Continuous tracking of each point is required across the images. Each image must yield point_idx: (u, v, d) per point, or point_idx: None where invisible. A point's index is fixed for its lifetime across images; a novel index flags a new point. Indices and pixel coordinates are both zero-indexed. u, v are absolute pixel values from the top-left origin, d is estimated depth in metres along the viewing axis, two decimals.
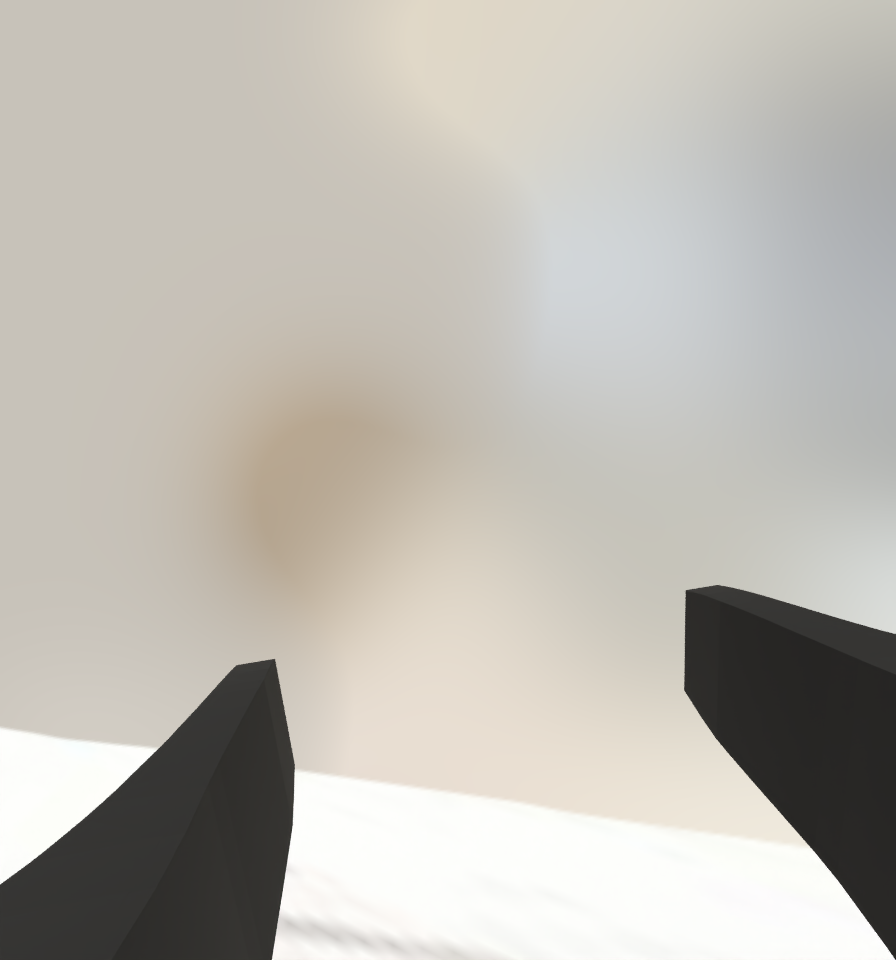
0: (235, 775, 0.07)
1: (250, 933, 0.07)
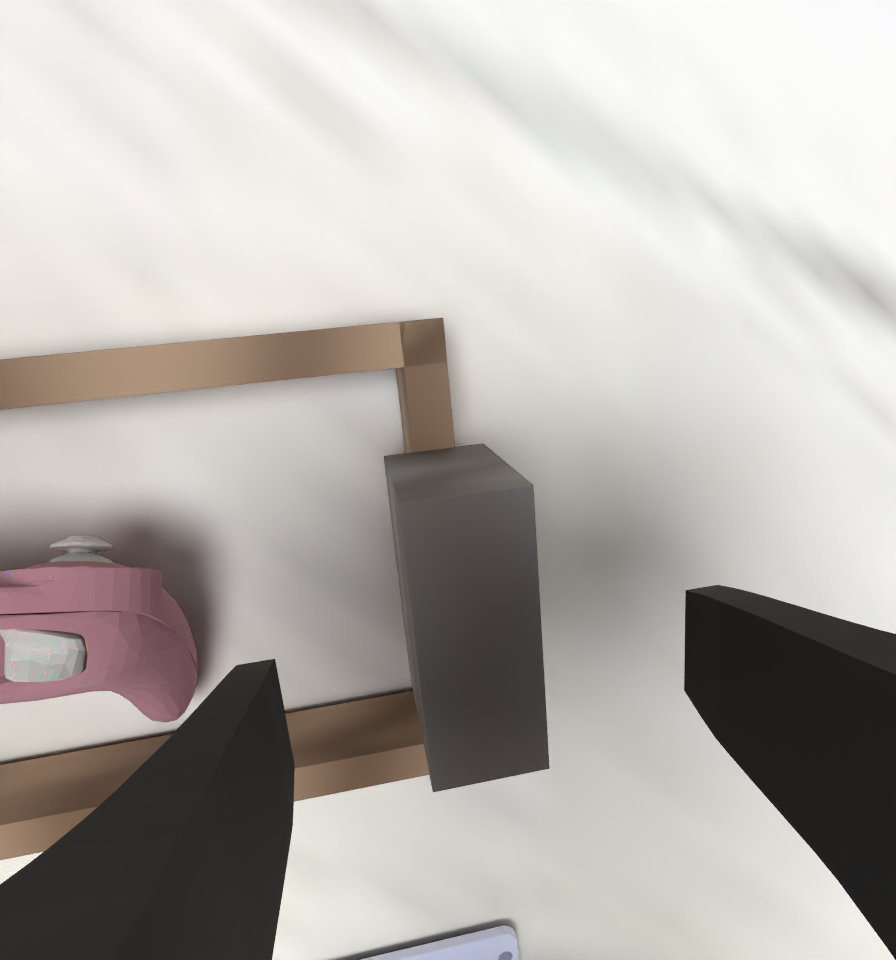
0: (234, 775, 0.07)
1: (250, 933, 0.07)
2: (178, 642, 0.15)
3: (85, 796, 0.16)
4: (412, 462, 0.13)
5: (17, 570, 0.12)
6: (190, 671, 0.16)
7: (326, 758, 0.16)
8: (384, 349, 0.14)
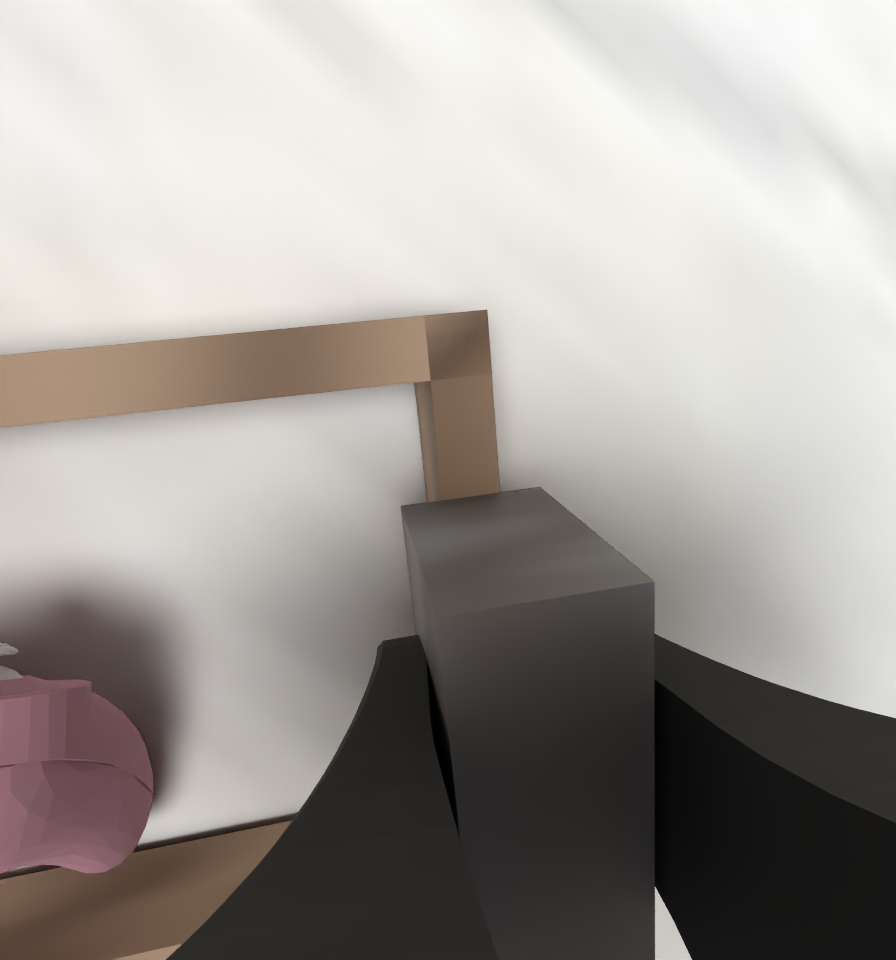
0: None
1: None
2: (115, 777, 0.11)
3: None
4: (444, 520, 0.09)
5: None
6: (138, 802, 0.12)
7: None
8: (403, 355, 0.09)
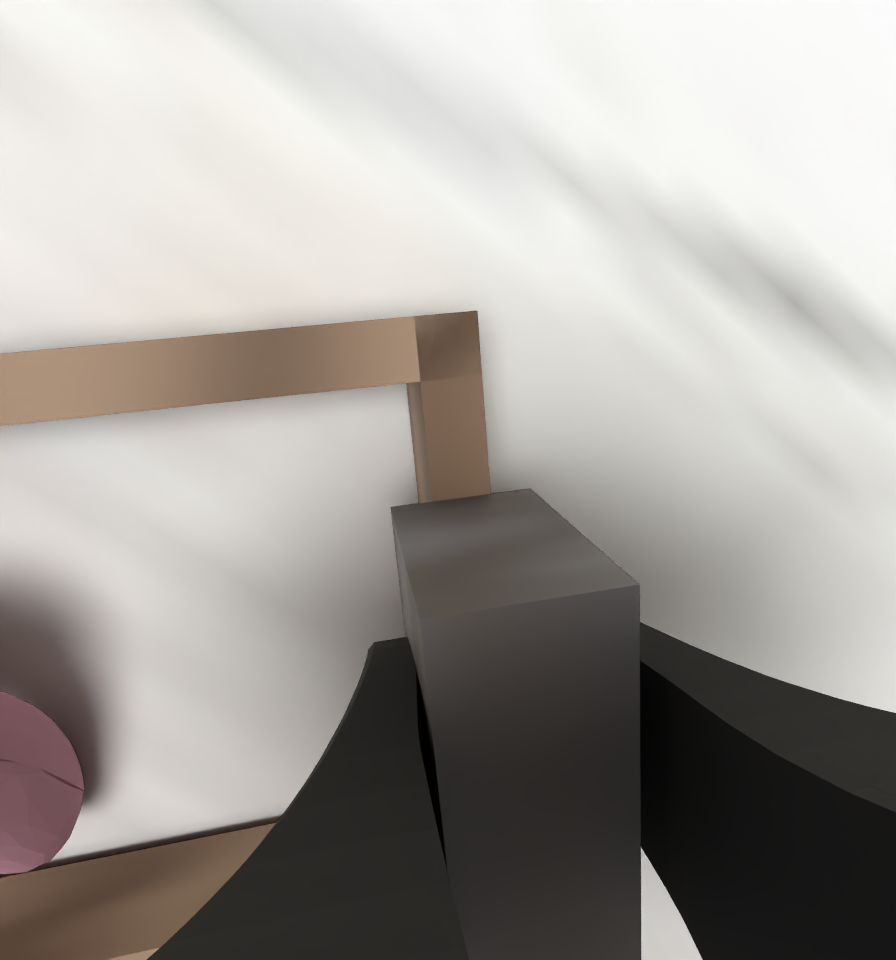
0: (420, 740, 0.07)
1: None
2: (15, 773, 0.10)
3: None
4: (433, 521, 0.09)
5: None
6: (55, 798, 0.11)
7: None
8: (392, 355, 0.09)
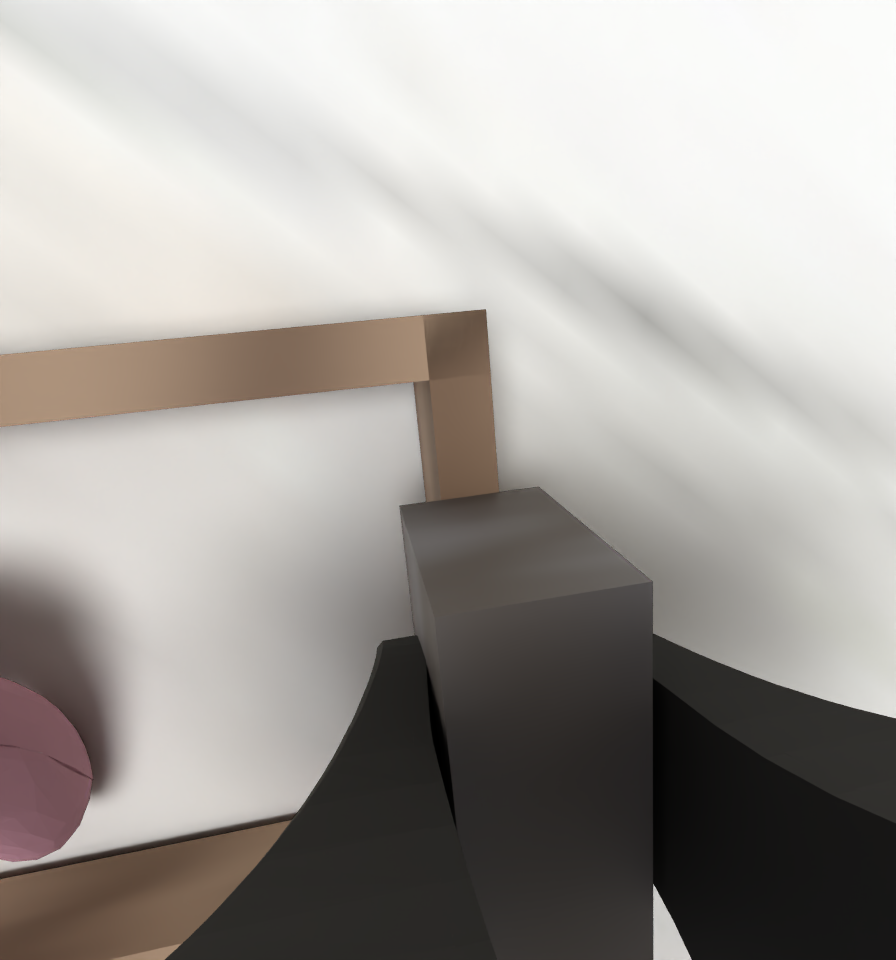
0: (432, 737, 0.07)
1: None
2: (21, 758, 0.10)
3: None
4: (442, 520, 0.09)
5: None
6: (63, 785, 0.11)
7: None
8: (401, 354, 0.09)
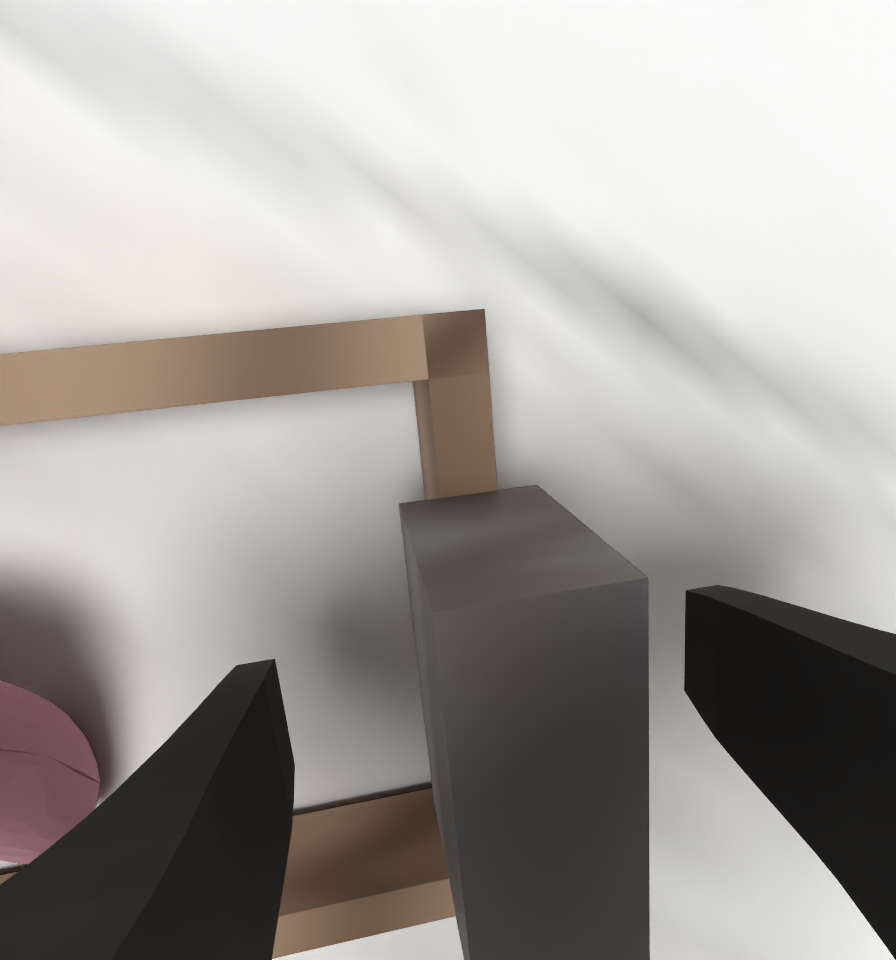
0: (235, 775, 0.07)
1: (250, 933, 0.07)
2: (32, 764, 0.10)
3: None
4: (441, 518, 0.09)
5: None
6: (72, 790, 0.12)
7: (320, 900, 0.12)
8: (401, 354, 0.10)
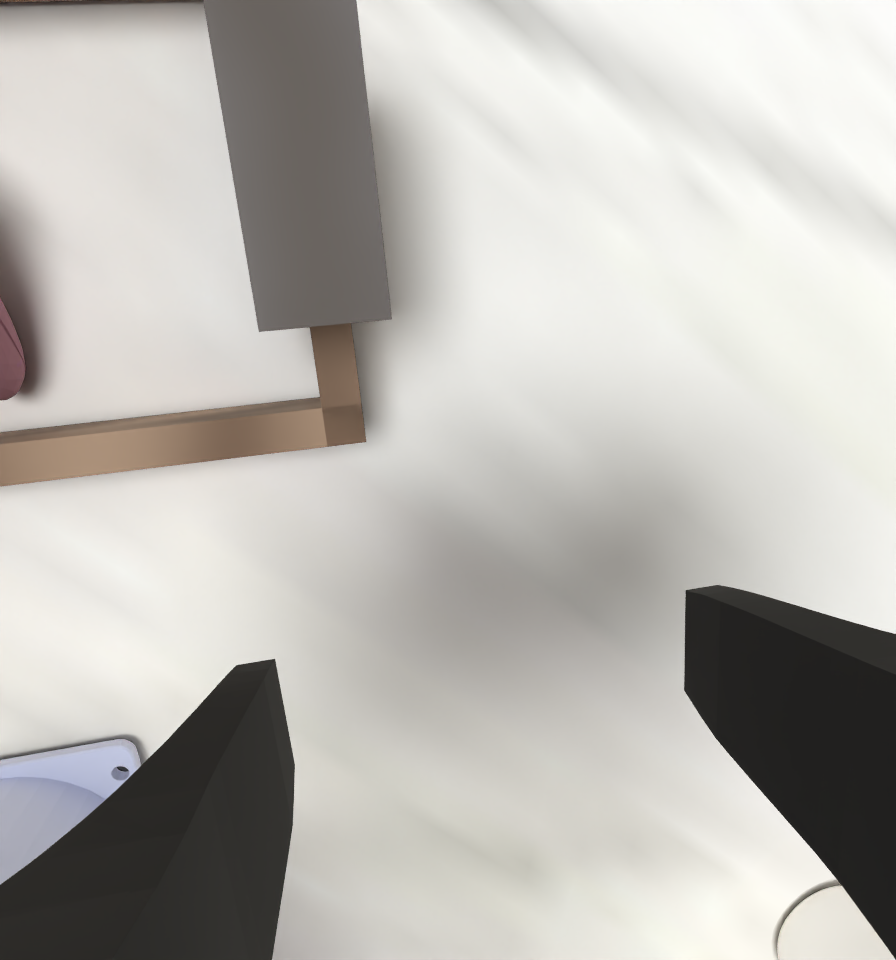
0: (234, 775, 0.07)
1: (250, 933, 0.07)
2: None
3: None
4: None
5: None
6: None
7: (193, 421, 0.15)
8: None
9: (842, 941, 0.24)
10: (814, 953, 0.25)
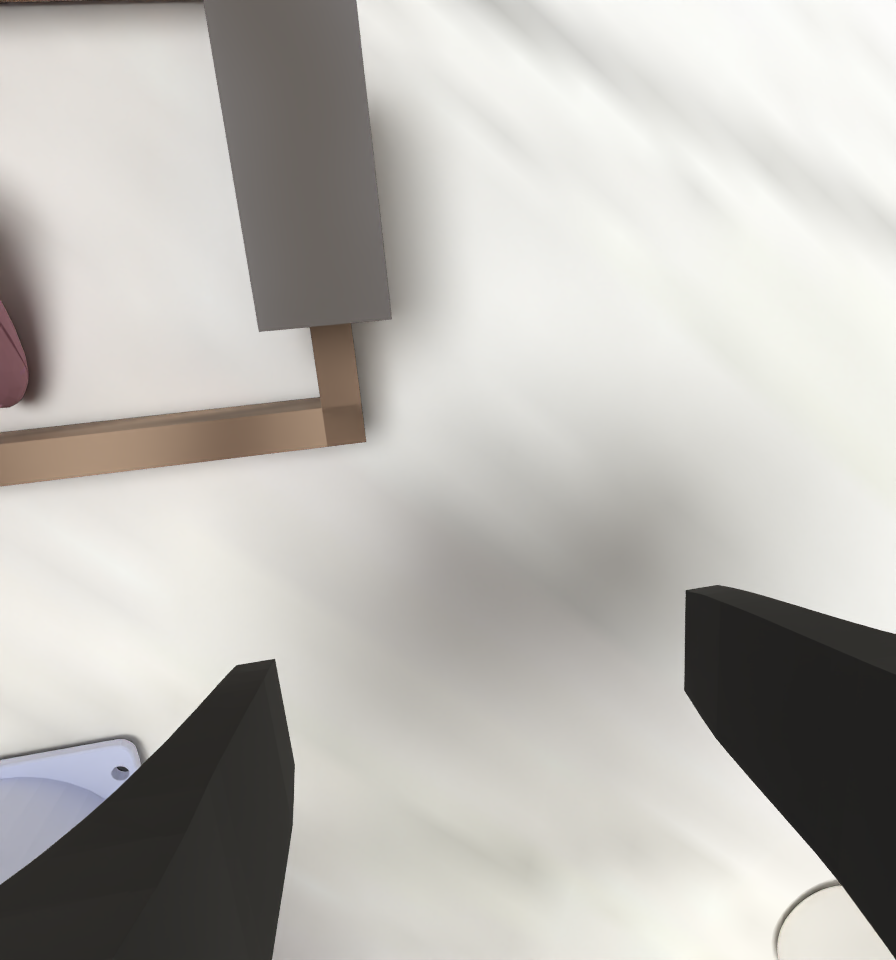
0: (234, 775, 0.07)
1: (250, 933, 0.07)
2: None
3: None
4: None
5: None
6: None
7: (193, 421, 0.15)
8: None
9: (842, 941, 0.24)
10: (814, 953, 0.25)
